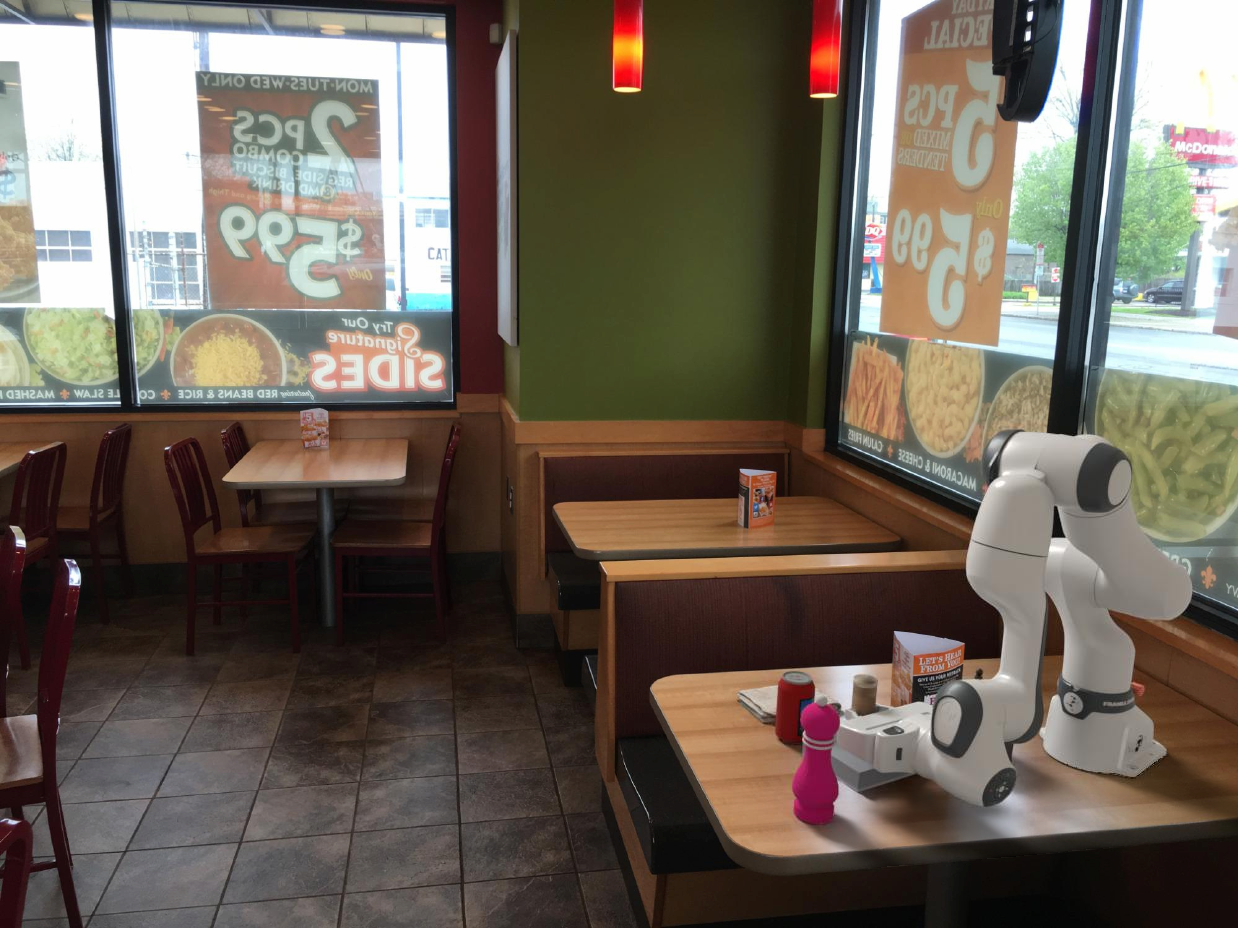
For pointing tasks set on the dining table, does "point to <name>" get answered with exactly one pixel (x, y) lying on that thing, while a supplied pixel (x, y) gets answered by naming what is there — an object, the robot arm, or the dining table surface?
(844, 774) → the hole block
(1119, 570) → the robot arm
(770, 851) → the dining table surface
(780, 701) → the beverage can
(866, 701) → the dowel
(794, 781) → the pepper mill
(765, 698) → the washcloth
